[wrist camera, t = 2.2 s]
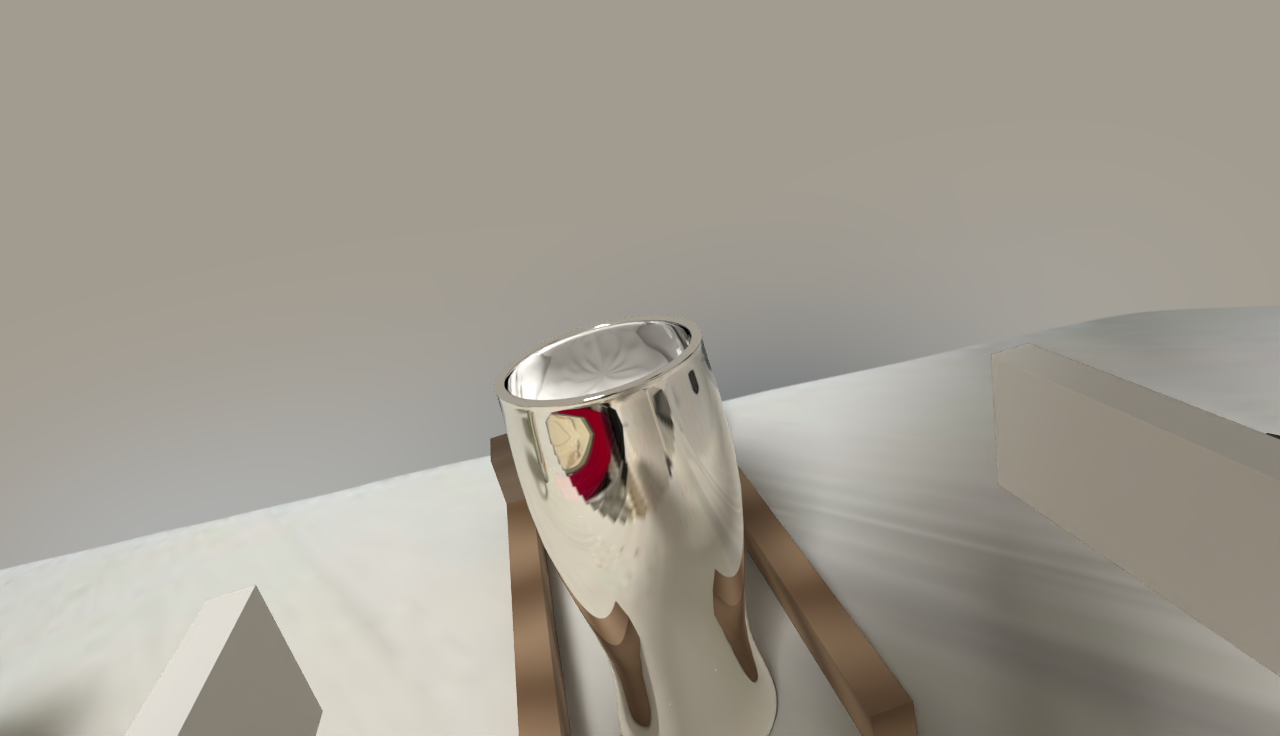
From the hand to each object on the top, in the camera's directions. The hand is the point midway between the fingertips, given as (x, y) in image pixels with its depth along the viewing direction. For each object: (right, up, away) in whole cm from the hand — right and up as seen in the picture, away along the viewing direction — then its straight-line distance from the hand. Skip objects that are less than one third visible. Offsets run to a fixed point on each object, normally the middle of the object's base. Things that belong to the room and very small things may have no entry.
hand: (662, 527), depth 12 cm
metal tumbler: (+2, -11, +15) cm, 18 cm away
